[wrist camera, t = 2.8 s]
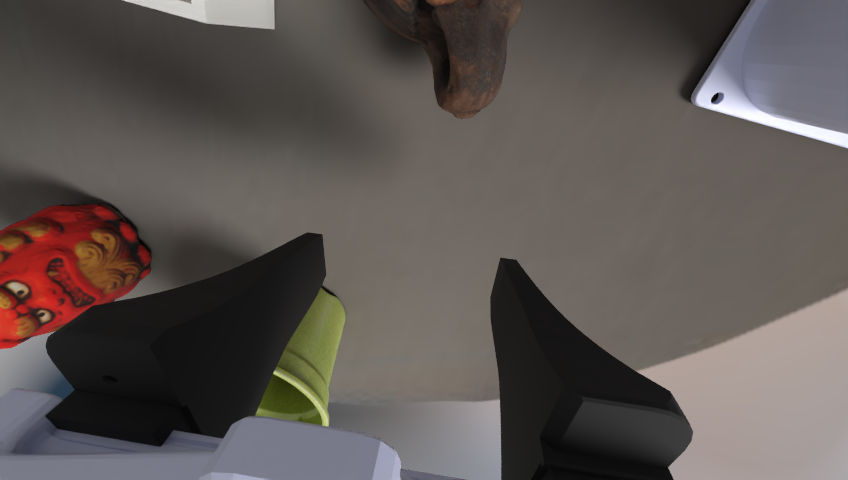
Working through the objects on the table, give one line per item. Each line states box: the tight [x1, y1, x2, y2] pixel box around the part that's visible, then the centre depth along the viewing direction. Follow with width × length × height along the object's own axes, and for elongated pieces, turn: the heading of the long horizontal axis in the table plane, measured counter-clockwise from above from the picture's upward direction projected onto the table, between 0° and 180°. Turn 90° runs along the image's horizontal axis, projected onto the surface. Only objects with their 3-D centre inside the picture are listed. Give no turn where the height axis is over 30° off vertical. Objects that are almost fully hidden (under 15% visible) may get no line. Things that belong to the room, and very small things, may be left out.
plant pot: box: [255, 287, 345, 426], centre depth 23 cm, size 9×9×9 cm
